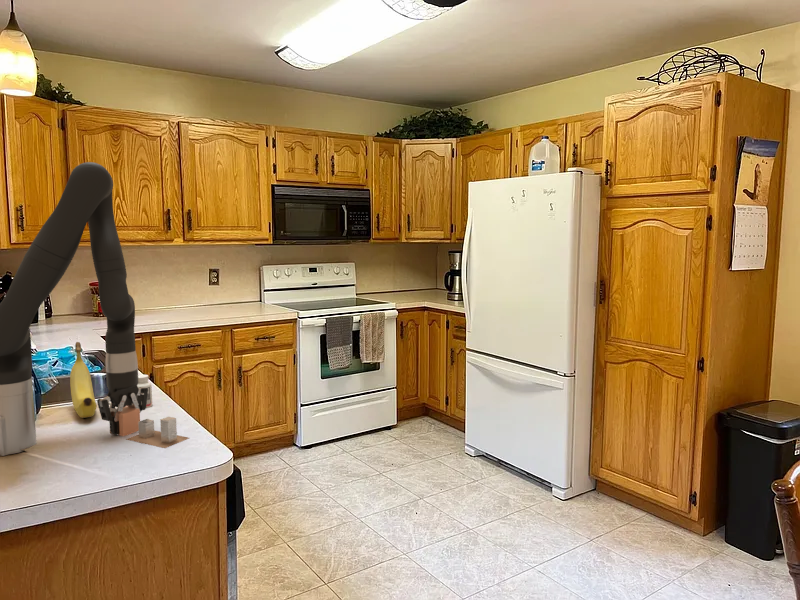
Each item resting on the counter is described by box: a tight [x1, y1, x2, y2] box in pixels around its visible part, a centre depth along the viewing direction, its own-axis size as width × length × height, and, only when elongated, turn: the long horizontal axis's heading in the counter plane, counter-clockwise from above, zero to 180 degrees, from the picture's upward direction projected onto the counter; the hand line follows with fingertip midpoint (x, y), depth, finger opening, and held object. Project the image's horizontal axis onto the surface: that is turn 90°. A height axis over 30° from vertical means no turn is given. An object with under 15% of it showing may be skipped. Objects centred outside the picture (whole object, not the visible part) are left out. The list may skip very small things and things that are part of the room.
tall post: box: [159, 416, 178, 443], centre depth 146 cm, size 3×3×6 cm
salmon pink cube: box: [109, 406, 141, 437], centre depth 154 cm, size 5×5×7 cm
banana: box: [69, 341, 98, 419], centre depth 170 cm, size 23×6×20 cm, turn 34°
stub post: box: [138, 418, 155, 438], centre depth 150 cm, size 3×3×4 cm
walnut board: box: [125, 429, 190, 449], centre depth 149 cm, size 8×14×1 cm, turn 64°
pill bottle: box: [136, 374, 153, 409], centre depth 177 cm, size 5×5×10 cm
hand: (125, 430), depth 154 cm, fingers open, 5 cm apart
